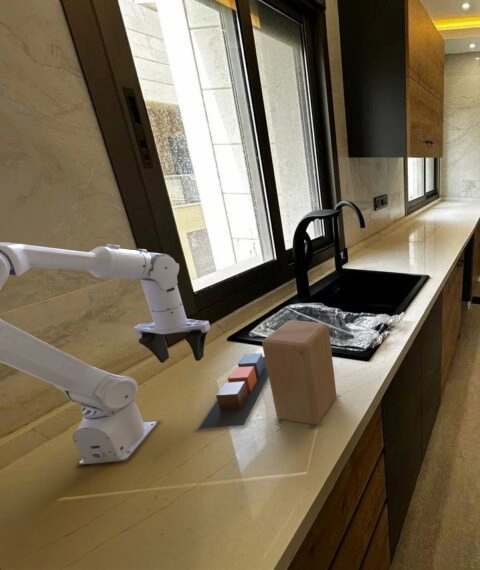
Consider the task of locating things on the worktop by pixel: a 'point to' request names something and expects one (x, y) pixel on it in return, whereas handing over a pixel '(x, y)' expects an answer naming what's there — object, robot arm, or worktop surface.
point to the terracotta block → (244, 376)
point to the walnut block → (232, 396)
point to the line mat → (236, 416)
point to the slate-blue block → (253, 362)
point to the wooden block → (300, 370)
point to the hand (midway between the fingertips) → (182, 359)
